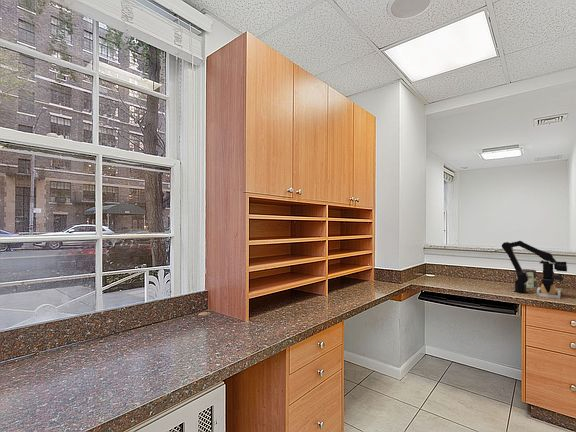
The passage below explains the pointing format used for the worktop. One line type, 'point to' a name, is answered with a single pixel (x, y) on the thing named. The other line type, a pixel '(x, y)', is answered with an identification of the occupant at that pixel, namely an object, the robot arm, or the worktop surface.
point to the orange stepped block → (552, 290)
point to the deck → (558, 294)
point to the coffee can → (531, 278)
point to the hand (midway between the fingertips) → (548, 291)
